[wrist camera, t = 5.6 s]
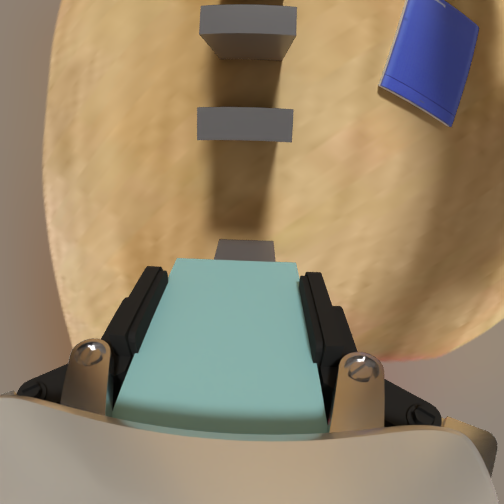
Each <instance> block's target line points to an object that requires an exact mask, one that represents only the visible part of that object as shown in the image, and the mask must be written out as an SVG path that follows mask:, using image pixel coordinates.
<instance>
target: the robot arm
mask: <svg viewBox="0 0 504 504" xmlns="http://www.w3.org/2000/svg"><path fill="white" fill-rule="evenodd" d="M167 284H168V275H167V271H163V269H162V267H154V266H147V267H146V268H145V270H144V272H143V273H142V275H141V277H140V278H139V280H138V282H137V283H136V285H135V287H134V289H133V290H132V292H131V294H130V295H129V297H127V298H125V299H124V300H123V301H122V303H121V305H120V306H119V308H118V310H117V311H116V313H115V315H114V317H113V318H112V320H111V322H110V324H109V326H108V327H107V329H106V331H105V333H104V335H103V336H102V338H101V339H87V340H84V341H82V342H80V343H79V344H77V345H76V346H75V347H74V348H73V349H72V352H71V354H70V358H69V362H68V364H66V365H64V366H61V367H59V368H57V369H54V370H52V371H50V372H47V373H45V374H43V375H40V376H38V377H36V378H33V379H31V380H29V381H27V382H25V383H24V384H23V385H22V386H21V387H20V388H19V390H18V392H17V393H15V391H10V392H7V393H4V394H0V504H499V502H498V498H497V495H496V492H495V489H494V486H493V483H492V480H491V476H492V472H493V468H494V463H495V458H496V454H497V441H496V438H495V437H494V436H493V434H491V433H490V432H488V431H486V430H483V429H480V428H477V427H475V426H472V425H469V424H466V423H464V422H461V421H459V420H456V419H453V418H451V417H448V416H447V417H446V418H445V419H444V418H441V415H440V413H439V411H438V410H437V409H436V407H434V406H433V405H432V404H430V403H428V402H426V401H424V400H423V399H421V398H419V397H417V396H415V395H413V394H411V393H409V392H407V391H406V390H404V389H402V388H400V387H398V386H396V385H394V384H393V383H391V382H389V381H387V380H386V379H384V369H383V365H382V364H381V362H380V361H379V360H378V359H377V358H376V357H374V356H372V355H370V354H367V353H363V352H357V349H356V346H355V343H354V340H353V337H352V334H351V331H350V328H349V326H348V323H347V320H346V317H345V314H344V312H343V309H342V307H341V306H332V304H331V301H330V298H329V295H328V292H327V289H326V286H325V283H324V280H323V277H322V274H321V273H320V272H306V274H305V276H300V281H299V291H300V296H301V302H302V307H303V312H304V317H305V322H306V327H307V333H308V338H309V344H310V349H311V355H312V360H313V363H317V368H318V374H319V379H320V385H321V390H322V396H323V402H324V408H325V413H326V419H327V425H328V426H327V432H326V433H316V434H291V435H258V434H231V433H215V432H204V431H193V430H184V429H176V428H169V427H162V426H155V425H149V424H143V423H137V422H132V421H127V420H122V419H117V418H112V411H113V408H114V406H115V403H116V400H117V398H118V395H119V392H120V390H121V387H122V385H123V382H124V380H125V377H126V374H127V372H128V369H129V367H130V364H131V362H132V360H133V357H134V355H135V353H138V352H139V350H140V348H141V345H142V343H143V340H144V338H145V335H146V333H147V330H148V328H149V326H150V323H151V321H152V319H153V316H154V314H155V312H156V309H157V307H158V305H159V302H160V300H161V298H162V295H163V293H164V291H165V289H166V286H167Z"/></svg>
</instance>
